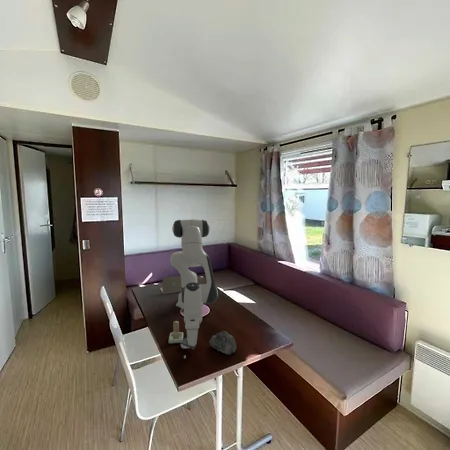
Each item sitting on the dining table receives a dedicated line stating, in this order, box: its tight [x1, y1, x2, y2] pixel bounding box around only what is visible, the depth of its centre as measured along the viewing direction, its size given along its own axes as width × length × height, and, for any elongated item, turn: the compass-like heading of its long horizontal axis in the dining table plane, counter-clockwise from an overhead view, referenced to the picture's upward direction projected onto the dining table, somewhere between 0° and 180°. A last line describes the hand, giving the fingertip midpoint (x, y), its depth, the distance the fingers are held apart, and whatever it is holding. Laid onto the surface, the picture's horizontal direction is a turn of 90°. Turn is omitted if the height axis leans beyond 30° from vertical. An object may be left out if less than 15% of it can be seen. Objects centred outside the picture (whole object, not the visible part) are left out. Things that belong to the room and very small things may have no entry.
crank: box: [182, 337, 197, 350], centre depth 130 cm, size 10×4×6 cm, turn 38°
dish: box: [168, 331, 184, 344], centre depth 138 cm, size 7×7×2 cm
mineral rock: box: [209, 330, 237, 355], centre depth 129 cm, size 13×11×10 cm
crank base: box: [180, 342, 191, 359], centre depth 129 cm, size 14×6×1 cm, turn 4°
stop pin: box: [172, 320, 180, 339], centre depth 137 cm, size 3×3×9 cm
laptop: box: [159, 275, 181, 295], centre depth 210 cm, size 18×12×13 cm
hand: (193, 343), depth 126 cm, fingers closed on crank, 2 cm apart
